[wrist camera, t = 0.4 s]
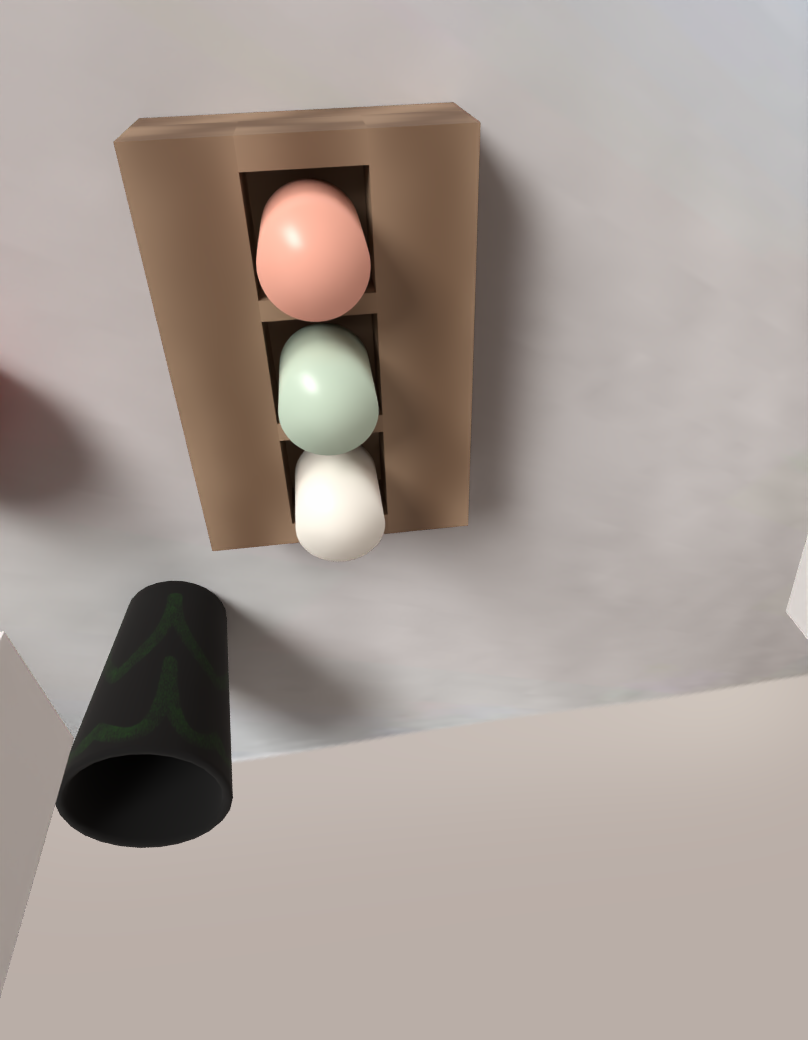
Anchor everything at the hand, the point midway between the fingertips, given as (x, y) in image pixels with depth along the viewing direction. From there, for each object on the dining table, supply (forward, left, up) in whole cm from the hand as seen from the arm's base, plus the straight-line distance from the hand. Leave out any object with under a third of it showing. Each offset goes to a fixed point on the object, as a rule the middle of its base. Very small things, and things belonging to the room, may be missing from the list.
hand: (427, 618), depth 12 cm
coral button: (-1, +1, -19) cm, 19 cm away
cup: (-11, -21, -24) cm, 33 cm away
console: (-1, -4, -23) cm, 24 cm away
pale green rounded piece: (-1, -4, -19) cm, 19 cm away
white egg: (-1, -9, -19) cm, 21 cm away
